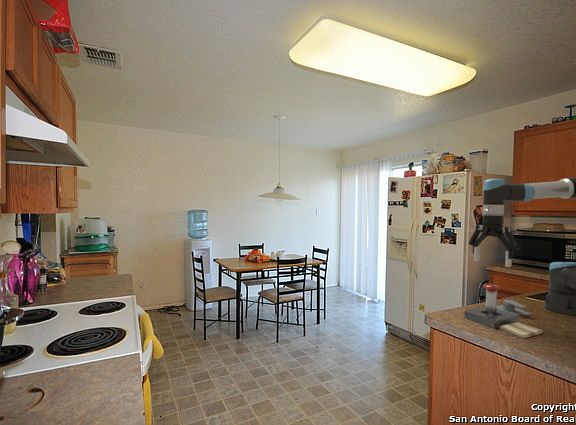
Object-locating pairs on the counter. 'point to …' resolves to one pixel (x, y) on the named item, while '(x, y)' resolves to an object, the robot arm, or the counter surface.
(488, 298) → the red mushroom button
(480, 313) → the eye plate
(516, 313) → the shower valve
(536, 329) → the birch pad
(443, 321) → the counter surface
